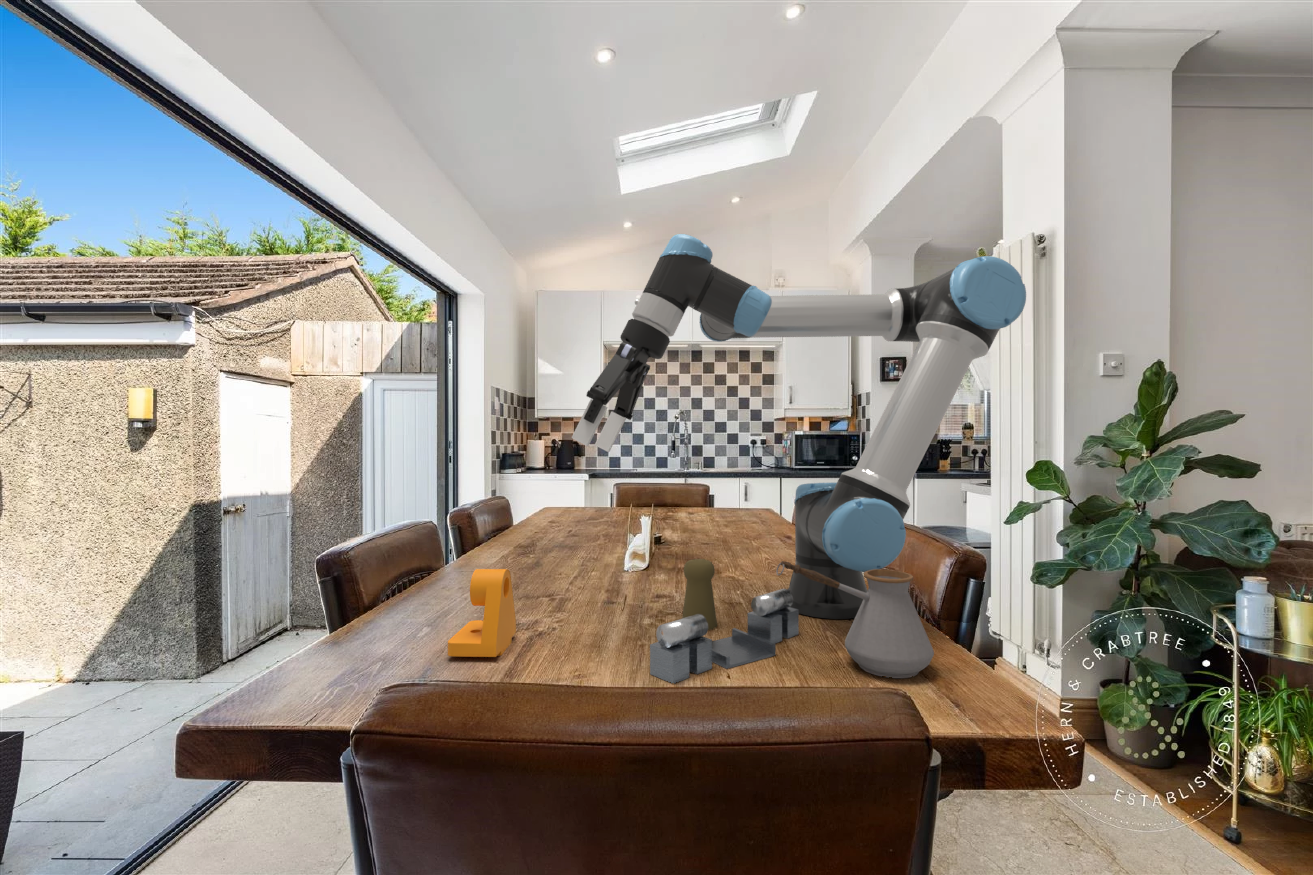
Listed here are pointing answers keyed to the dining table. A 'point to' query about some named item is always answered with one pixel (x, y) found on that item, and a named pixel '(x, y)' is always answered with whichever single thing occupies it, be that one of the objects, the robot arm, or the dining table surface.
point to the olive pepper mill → (699, 591)
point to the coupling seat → (740, 649)
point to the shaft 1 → (681, 649)
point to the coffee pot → (882, 624)
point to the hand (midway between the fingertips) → (591, 445)
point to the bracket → (487, 616)
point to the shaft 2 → (773, 616)
